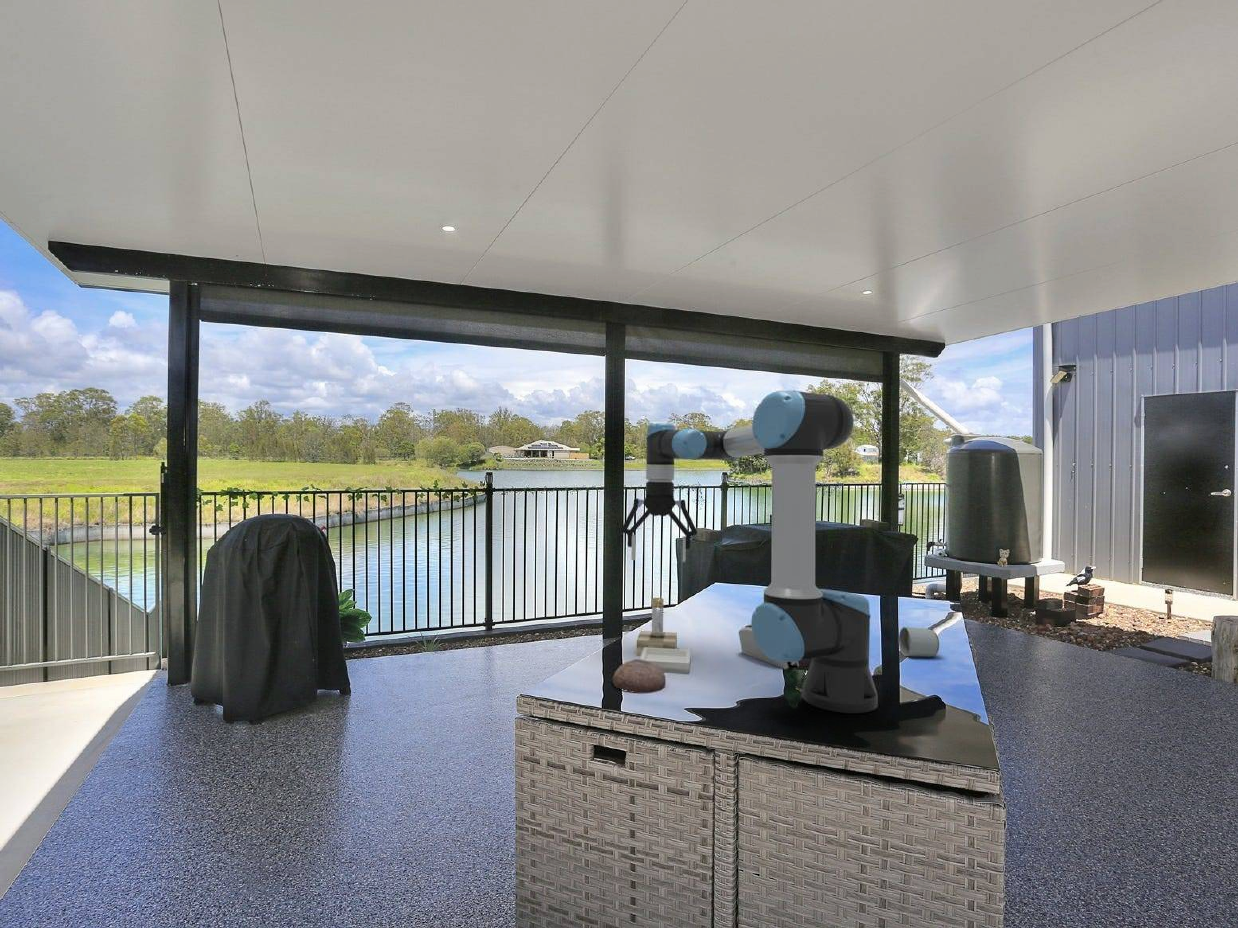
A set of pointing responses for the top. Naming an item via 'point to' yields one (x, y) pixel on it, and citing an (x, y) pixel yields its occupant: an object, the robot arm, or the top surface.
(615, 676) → the decorative stone
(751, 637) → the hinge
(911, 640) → the grey hollow cylinder
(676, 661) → the tray
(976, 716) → the top surface
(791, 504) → the robot arm
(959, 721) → the top surface
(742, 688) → the top surface
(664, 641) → the socket block
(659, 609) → the pin
